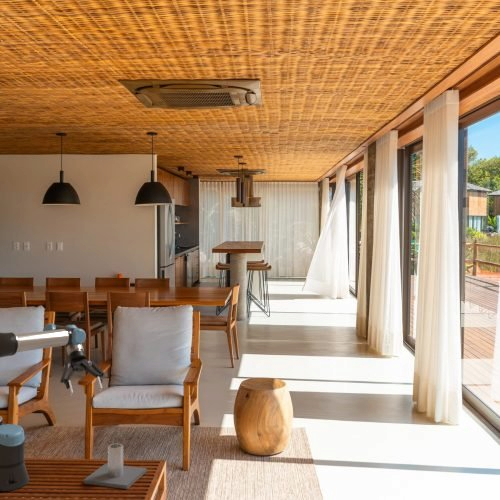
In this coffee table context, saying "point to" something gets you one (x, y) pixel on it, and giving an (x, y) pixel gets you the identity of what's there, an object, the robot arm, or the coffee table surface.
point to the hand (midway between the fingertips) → (86, 391)
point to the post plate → (122, 481)
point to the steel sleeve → (115, 460)
